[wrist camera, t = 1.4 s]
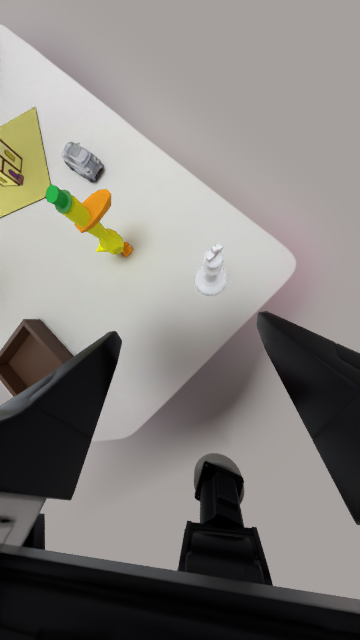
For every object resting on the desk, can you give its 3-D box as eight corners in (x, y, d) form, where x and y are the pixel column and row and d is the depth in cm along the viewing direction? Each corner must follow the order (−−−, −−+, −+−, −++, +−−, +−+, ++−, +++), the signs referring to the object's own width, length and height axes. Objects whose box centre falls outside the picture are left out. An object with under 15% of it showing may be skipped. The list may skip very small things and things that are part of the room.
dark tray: (85, 369, 26) (73, 375, 24) (49, 413, 27) (33, 422, 25) (39, 319, 28) (23, 319, 25) (7, 362, 29) (-12, 366, 27)
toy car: (75, 148, 27) (59, 126, 24) (107, 167, 26) (94, 147, 23) (65, 166, 27) (48, 147, 24) (96, 186, 26) (82, 169, 23)
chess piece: (188, 280, 23) (175, 251, 13) (210, 257, 23) (215, 208, 13) (210, 302, 23) (214, 288, 13) (234, 279, 22) (257, 245, 12)
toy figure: (134, 228, 25) (70, 143, 13) (148, 242, 24) (94, 168, 12) (107, 256, 26) (24, 200, 14) (120, 270, 25) (45, 226, 13)
